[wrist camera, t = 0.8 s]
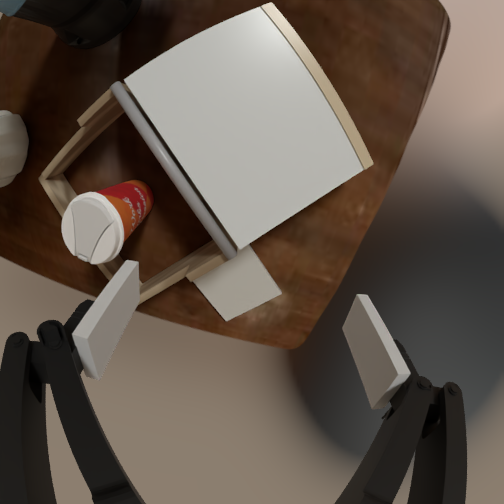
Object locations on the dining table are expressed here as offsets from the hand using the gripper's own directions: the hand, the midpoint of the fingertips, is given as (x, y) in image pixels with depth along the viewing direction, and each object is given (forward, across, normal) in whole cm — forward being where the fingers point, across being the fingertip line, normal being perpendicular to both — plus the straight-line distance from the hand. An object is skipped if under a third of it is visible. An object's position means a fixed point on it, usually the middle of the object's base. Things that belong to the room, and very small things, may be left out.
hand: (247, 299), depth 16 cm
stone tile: (+26, 0, -15) cm, 29 cm away
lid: (+22, -2, +10) cm, 24 cm away
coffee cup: (+26, -17, -3) cm, 31 cm away
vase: (+26, -45, +5) cm, 53 cm away
